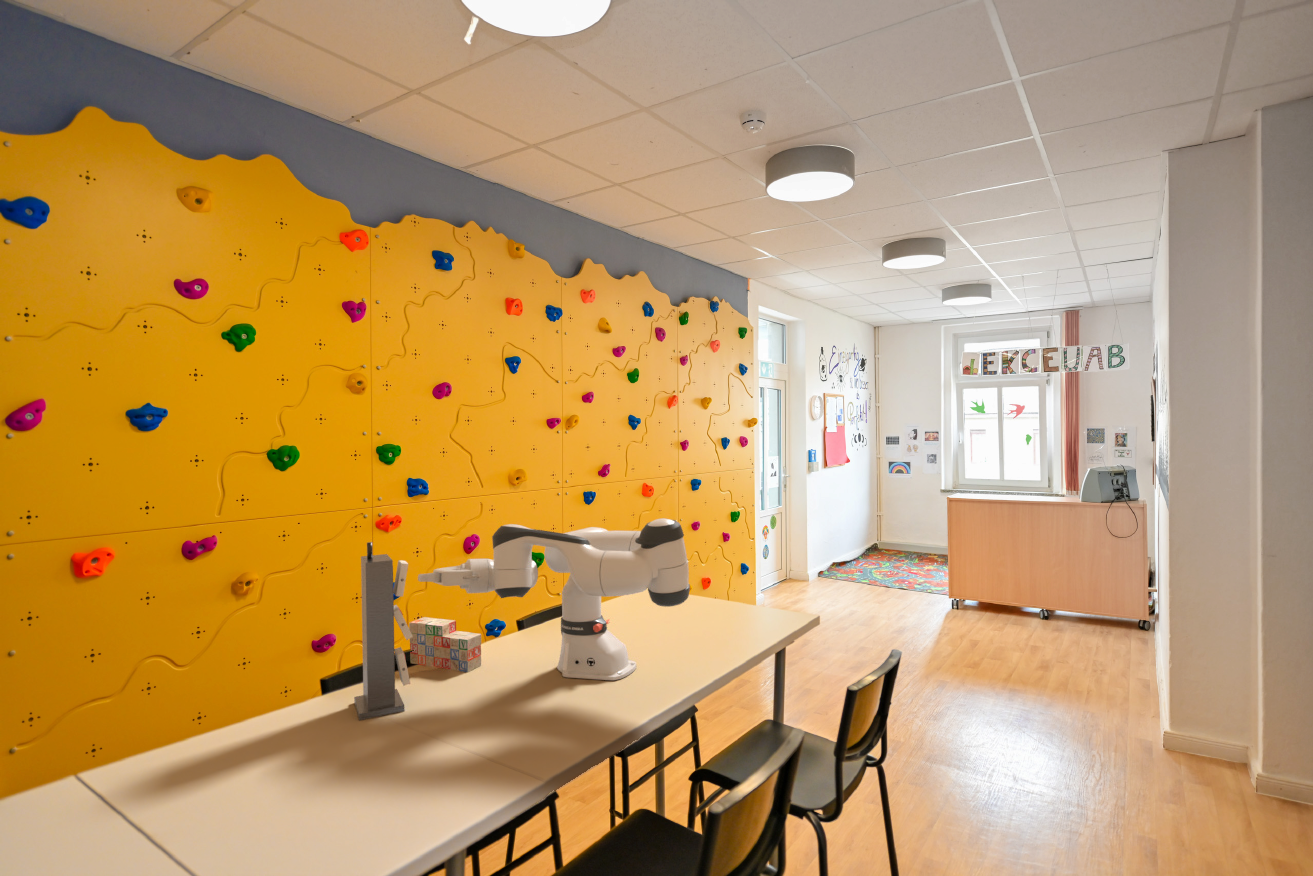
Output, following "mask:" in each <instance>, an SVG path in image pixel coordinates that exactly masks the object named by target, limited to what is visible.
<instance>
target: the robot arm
mask: <svg viewBox="0 0 1313 876" xmlns="http://www.w3.org/2000/svg"><path fill="white" fill-rule="evenodd" d="M684 536H685V535H684V531H683V528H682V525H681V524H680V522H679V521H677V520H675V519H669V518H664V517H663V518H657V519H654V520H652V521H649V522H647V523H646V524H645V526H644V527H643V528H642V529H641V530H608V529H606V528H603V527H597V526H590V527H589V526H588V527H585V528H580V529H576V530H571V531H568V532H563V533H561V532H555V531H550V530H542V529H535V528H530V527H527V526H524V525H520V524H515V523H514V524H513V523H509V524H503V525H501V526H500V527H498V529H497V530H496V531H495V532H494V533H493V535H492V536H491V539H492V549H493V559H490V558H468V559H467V560H466V562H463V563H461V564H459V565H455V566H447V567H441V568H439V567H438V568H436V569H433V572H430V573H429V572H428V573H419V574H418V576H417V581H418V582H423V583H425V582H426V583H427V582H431V583H435V584H438V585H441V586H444V587H453V586H456V587H457V586H459V587H460V589H461V590H462V589H463V590H465V591H466V593H467V594H481V593H482V594H483V593H489V592H493V591H494V592H495V593H496V594H497V596H499V598H500V599H504V598H514V597H518V598H523V597H524V596H525V595H527V593H529V591H530V590H531V589H532V588H534V587H535V586H536V584H537V582H538V579H539V578H538V577H539V570H538V565H537V563H536V562H535V560H533V557H532V555H533V554H532V553H533V552H532V551H533V546H538V547H539V546H540V547H543V548H544V561H545V563H546V565H547V567H548V568H549V569H550V570H551V571H553V572H555V573H562V574H564V573H565V574H566V573H567V574H568V573H569V576H568V579H567V581H566V583H565V584H564V586H563V587H562V591H561V609H562V610H561V611H562V616H561V618H560V633H561V647H560V654H559V660H558V663H557V665H556V668H557V670H558V671H559V672H561V674H562V677H564V678H573V679H575V678H576V679H586V680H587V679H588V680H603V681H604V680H605V681H616V680H620V679H623V678H625V677H628V676H630V675H631V674H632V673H633V672H635V670H636V669H637V662H636V661H634V660H632V659H631V660H630V659H629V654H628V653H629V652H628V649H627V646H626V644H625V643H624V642H622V641H621V640H620V639H619V638H617V636H615V635H614V634H613V633H612V632H611V631H610V630H608V627H607V626H608V624H609V623H610V618H608V619H607V620H606V619H605V618H604V617H603V615H602V597H604V598H605V597H621V596H622V597H623V596H629V595H635V594H639V593H643V592H644V591H646V590H647V591H648V594H649V598H650V600H651V602H652V603H654V604H655V605H656V606H659V607H665V608H666V607H667V608H668V607H676V606H679V605H681V604H683V603H685V601H687V600H688V598H689V596H690V595H689V594H690V590H691V589H690V587H691V585H690V583H689V579H690V577H689V575H690V574H689V573H690V572H689V569H690V568H689V567H690V566H689V560H688V556H687V549H686V545H685V544H686V543H685V539H684Z"/></svg>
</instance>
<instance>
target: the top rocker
mask: <svg viewBox="0 0 1313 876" xmlns="http://www.w3.org/2000/svg"><path fill="white" fill-rule="evenodd" d="M408 569H409V563H408V562H407V561H406V560H402V559H401V560H398V561H397V565H396V574H395V580H394V583H393V595H395V597H404V593H405V586H406V579H407V574H408Z"/></svg>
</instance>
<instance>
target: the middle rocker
mask: <svg viewBox="0 0 1313 876" xmlns="http://www.w3.org/2000/svg"><path fill="white" fill-rule="evenodd" d="M394 620H395V621H396V622H397V625H398V627H399V628H400V630H401V632H402V635H403V637H404V638H405V639H406V641H409V640H410V638H412V637H413V636H412V634H411V632H410V628H409V626H408V624H407V622H406V620H405V618H404V614H403V611H402V610H401V609H400V607H399V606H398V605H397V604H395V605H394Z"/></svg>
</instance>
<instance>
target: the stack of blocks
mask: <svg viewBox="0 0 1313 876" xmlns="http://www.w3.org/2000/svg"><path fill="white" fill-rule="evenodd" d="M408 625H409V626H408V628H409V630H410V632H411V634H412V636H413V637H412V638H410V639H409V650H414V651H412V652H410V651H409V652H410V654H409V657H410V659H409V660H410V661H409V662H410V664H414V665H419V666H425V667H432V668H439V669H445V670H452V671H457V672H463V673H470V671H473V670H475V669H477V668H480V667H481V666H482V646H481V645H482V634H481V633H475V632H471V631H470V632H469V631H460V630H457V621H456V620H455V619H454V620H453V619H446V618H445V619H444V618H435V617H427V616H424V617H421V618H417V619H415V620H413V621H410V622H409V624H408Z"/></svg>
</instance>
